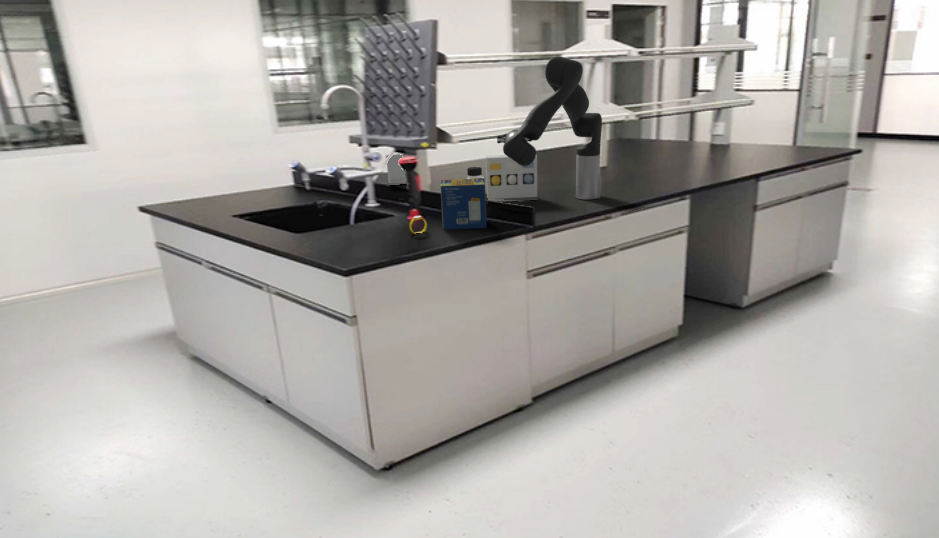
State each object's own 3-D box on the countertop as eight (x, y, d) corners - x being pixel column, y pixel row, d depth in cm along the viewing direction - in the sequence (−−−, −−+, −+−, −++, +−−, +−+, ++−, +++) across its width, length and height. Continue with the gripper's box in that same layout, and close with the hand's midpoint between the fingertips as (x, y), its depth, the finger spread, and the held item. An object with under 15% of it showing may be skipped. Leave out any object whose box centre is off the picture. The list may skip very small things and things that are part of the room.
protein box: (443, 222, 222) (441, 179, 217) (486, 220, 222) (484, 177, 217) (442, 230, 212) (439, 185, 207) (487, 228, 212) (485, 183, 207)
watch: (412, 236, 207) (410, 219, 205) (409, 234, 210) (407, 217, 208) (428, 232, 210) (426, 215, 208) (425, 230, 212) (423, 214, 210)
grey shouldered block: (405, 182, 293) (403, 151, 288) (407, 185, 288) (404, 153, 283) (388, 184, 292) (385, 152, 287) (389, 186, 286) (386, 154, 281)
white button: (515, 181, 248) (515, 173, 247) (516, 184, 244) (516, 175, 243) (506, 182, 248) (506, 173, 247) (507, 184, 244) (507, 175, 243)
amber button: (499, 182, 248) (499, 173, 247) (500, 185, 244) (500, 176, 243) (490, 183, 248) (490, 174, 247) (491, 185, 244) (491, 176, 243)
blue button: (531, 181, 248) (531, 172, 247) (533, 183, 244) (533, 174, 243) (522, 181, 248) (522, 172, 247) (524, 183, 244) (524, 174, 243)
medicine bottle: (482, 197, 258) (481, 168, 254) (465, 197, 259) (464, 168, 255) (485, 193, 264) (484, 165, 260) (468, 193, 266) (467, 165, 262)
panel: (535, 197, 253) (535, 153, 247) (537, 200, 247) (537, 155, 241) (487, 199, 253) (485, 155, 247) (487, 203, 247) (486, 158, 241)
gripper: (535, 130, 208) (530, 123, 224) (496, 132, 208) (494, 125, 224) (535, 152, 211) (531, 144, 227) (497, 154, 211) (495, 146, 227)
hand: (512, 134), depth 226 cm, fingers closed
